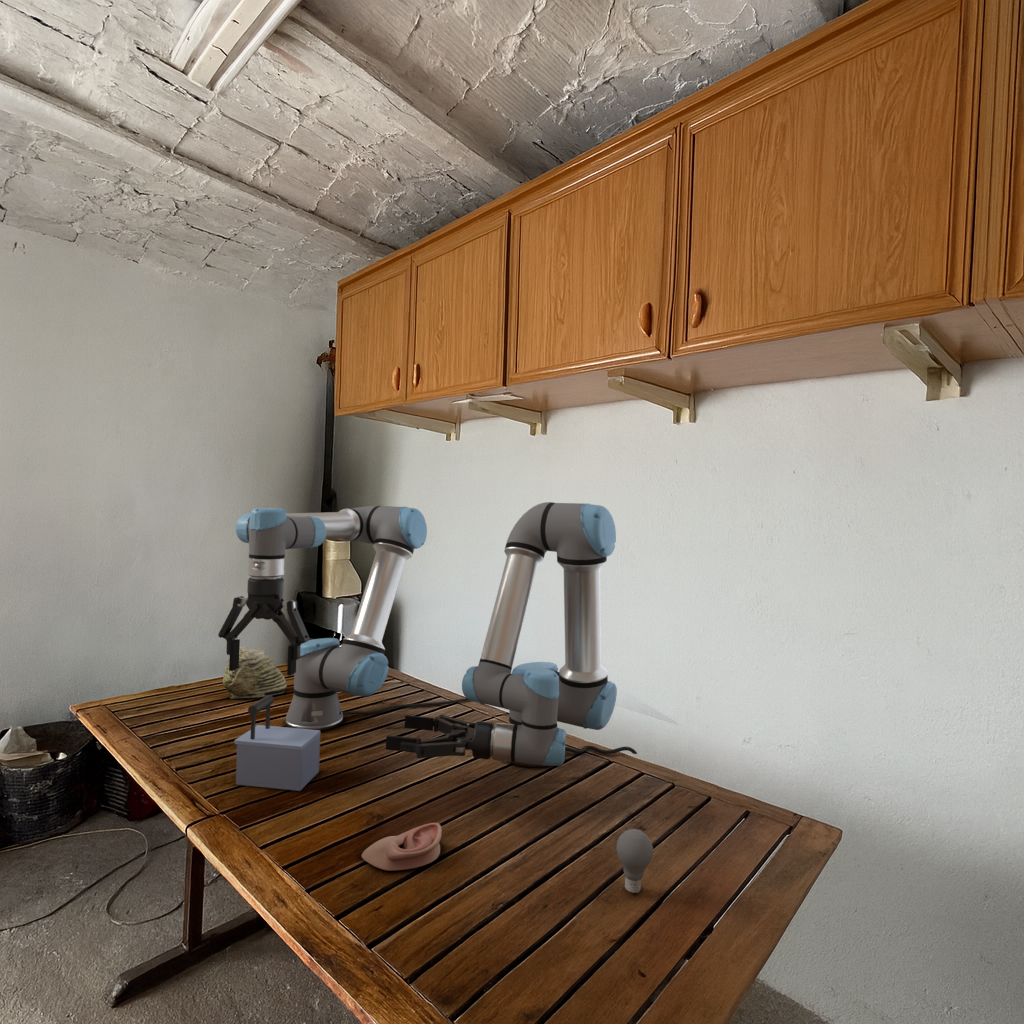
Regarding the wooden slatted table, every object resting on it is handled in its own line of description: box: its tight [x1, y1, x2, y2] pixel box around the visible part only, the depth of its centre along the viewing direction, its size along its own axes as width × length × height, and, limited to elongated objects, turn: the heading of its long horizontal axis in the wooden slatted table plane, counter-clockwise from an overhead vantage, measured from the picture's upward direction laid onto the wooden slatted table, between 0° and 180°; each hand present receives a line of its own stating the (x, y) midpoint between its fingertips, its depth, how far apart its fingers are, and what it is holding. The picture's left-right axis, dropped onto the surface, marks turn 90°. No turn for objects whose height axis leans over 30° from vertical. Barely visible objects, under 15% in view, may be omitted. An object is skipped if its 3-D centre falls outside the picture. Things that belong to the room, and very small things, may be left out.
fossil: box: [222, 646, 288, 699], centre depth 198 cm, size 9×18×15 cm, turn 132°
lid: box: [234, 695, 321, 750], centre depth 141 cm, size 15×10×8 cm, turn 83°
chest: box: [235, 734, 321, 792], centre depth 141 cm, size 15×10×9 cm, turn 83°
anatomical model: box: [361, 822, 443, 872], centre depth 114 cm, size 13×4×12 cm
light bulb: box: [615, 828, 654, 894], centre depth 106 cm, size 6×6×10 cm
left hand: (262, 671), depth 142 cm, fingers open, 13 cm apart
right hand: (396, 731), depth 137 cm, fingers open, 13 cm apart
